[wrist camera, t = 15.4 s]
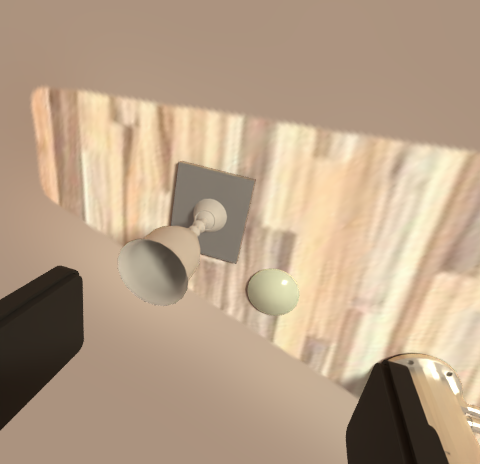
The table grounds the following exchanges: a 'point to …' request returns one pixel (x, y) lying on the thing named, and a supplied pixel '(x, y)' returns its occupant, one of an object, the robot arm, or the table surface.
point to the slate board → (222, 190)
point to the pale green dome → (273, 292)
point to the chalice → (168, 256)
